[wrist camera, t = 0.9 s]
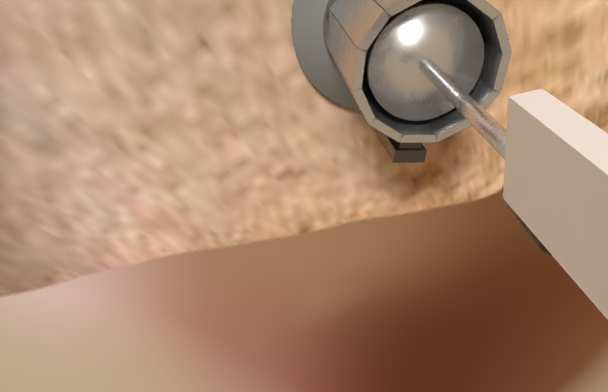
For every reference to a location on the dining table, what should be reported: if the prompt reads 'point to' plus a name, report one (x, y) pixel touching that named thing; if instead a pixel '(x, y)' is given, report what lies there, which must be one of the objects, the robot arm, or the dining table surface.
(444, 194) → the dining table surface
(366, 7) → the faceted metal cup
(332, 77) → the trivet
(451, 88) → the plunger
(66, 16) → the dining table surface
